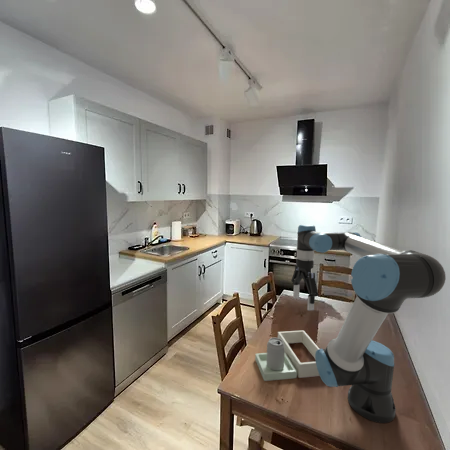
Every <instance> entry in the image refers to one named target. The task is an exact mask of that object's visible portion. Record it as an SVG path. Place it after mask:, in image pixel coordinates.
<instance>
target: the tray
mask: <svg viewBox="0 0 450 450" xmlns="http://www.w3.org/2000/svg"><path fill="white" fill-rule="evenodd" d="M254 356H255V358H254V359H255V363H256V365H257V368H258V369H259V372H260V375H261V377H262V379H263V381H264V382H269V381H278V380H289V379H292V380H293V379H297V378H298V376H297V371H296V369H295V367H294V366H293V364H292V363H291V361H290V359H289V358H288V356H287V355H286V353H285V352H284V368H283V369H281V370H280V371H273V370H271V369H270V368H269V367H268V366H267V352H261V353H255V355H254Z"/></svg>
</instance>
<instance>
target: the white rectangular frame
mask: <svg viewBox="0 0 450 450" xmlns="http://www.w3.org/2000/svg"><path fill="white" fill-rule="evenodd" d="M277 338H279V339H281V340H282V341H283V343H284V345H285V353H286V355H287V356H288V358H289V359H290V361H291V363H292V364H293V366H294V367H295V369H296V371H297V378H310V377H311V378H312V377H320V375H319V372H318V369H317V366H316V361H305V362H301V361H300V359H299V358H298V357H297V355H296V353H295V352H294V351H293V349H292V347H291V346H290V344H295V343H296V344H298V343H301V344H303V346H304V347H305V348H306V349H307V351H308V352H309V353H310V354H311V355H312V357H313V358H314V359H315V354H316V351H317V350H318V349H320V348H319V347H318V345H317V344H316V343H315V342H314V340H313V339H312V338H311V337H310V336H309V334H308V333H306V331H305V330H290V331H277Z"/></svg>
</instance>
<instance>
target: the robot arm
mask: <svg viewBox="0 0 450 450" xmlns="http://www.w3.org/2000/svg"><path fill="white" fill-rule="evenodd" d="M296 235H297V240H296V241H297V244H296V246H297V247H296V260H295V261H296V262H295V263H296V264H295V267H294V271H293V274H292V277H291V283H292V285H293V292H292V294H293V295H292V296H293V297H292V298H293V299H300V283H301V281H302V280H303V282H304V283H305V285H306V289H307V292H308V295H307V311H315V297H319V292H318V288H317V287H318V286H317V282H316V281H317V280H316V273H315V272H312V269H314V267H315V266H314V265H315V264H314V263H315V260H314V259H315V252H317V253H322V254H324V253H326V252H328V251H329V252H330V251H344V252H347V253H349V254H351V255H354V256H355V257H357V258H359V259H358V260H357V261H355V263H354V265H353V266H352V270H351V274H350V275H351V277H352V278H351V280H350V281H351V286H352V288H353V289H352V290H353V291H354V293H355V295H356V297H355V299H354V302H353V303H352V306H351V308H350V310H349V312H348V314H347V316H346V318H345V320H344V322H343V324H342V327H341V329H340V330H339V332H338V334H337V337H336V338H333V339H330V341H329V342H328V343H327V346H326V348H319V349H318V350H317V351H316V354H315V358H314V360H315V362H316V366H317V369H318V372H319V375H320V376H319V377H320V379H321V381H322V382H323V383H324V384H325V386H327V387H331V388H332V387H334V388H335V387H336V388H338V387H347V386H350V387H349V389H348V392H347V401H348V404H349V405H350V407H351V408H352V409H353V410H354V411H355V413H358V415H360V416H362V417H363V418H365V419H367V420H369V421H372V422H375V423H379V424H383V423H384V424H385V423H386V424H387V423H390V422H392V421H393V420H394V419H395V417H396V410H397V408H396V404H395V401H394V397H393V392H392V386H393V379H394V378H393V377H394V369H395V355H394V353H393V352H392V350H391V349H390V348H389V347H388V346H385V345H384V344H383V343H381V342H378V341H375V340H373V339H374V338H375V336H376V334H377V332H378V331H379V329H380V327H381V326H382V324H383V322H385V320H386V318H387V316H388V315H389V314H395V313H397V312H398V311H399V310H400V308H401V306H402V305H403V304H404V301H406V300H407V299H424V298H429V297H433V296H434V295H436V294H438V292H441V290H442V289H443V287H444V285H445V283H446V271H445V269H444V267H443V265H442V264H441V263H440V262H439V261H438V260H437V259H436V258H434V257H432V256H431V255H428V254H425V253H423V252H422V253H421V252H419V251H415V250H413V249H407V250H402V249H399V248H396V247H393V246H389V245H386V244H384V243H380V242H376V241H373V240H372V239H367V238H366V237H363V236H362V235H361V234H360V233H359V232H353V231H344V232H343V231H340V232H338V231H337V232H334V231H333V232H332V231H329V232H328V231H327V232H321V231H316V226H315V225H314V224H300V225H298V227H297V233H296Z"/></svg>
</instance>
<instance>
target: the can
mask: <svg viewBox="0 0 450 450" xmlns="http://www.w3.org/2000/svg"><path fill="white" fill-rule="evenodd" d="M284 352H285V345H284V343H283V341H282V340H281V339H279V338H278V337H271V338H269V339H268V341H267V343H266V353H267V366H268V367H269V368H270V369H271V370H273V371H280V370H281V369H283V368H284Z"/></svg>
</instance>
